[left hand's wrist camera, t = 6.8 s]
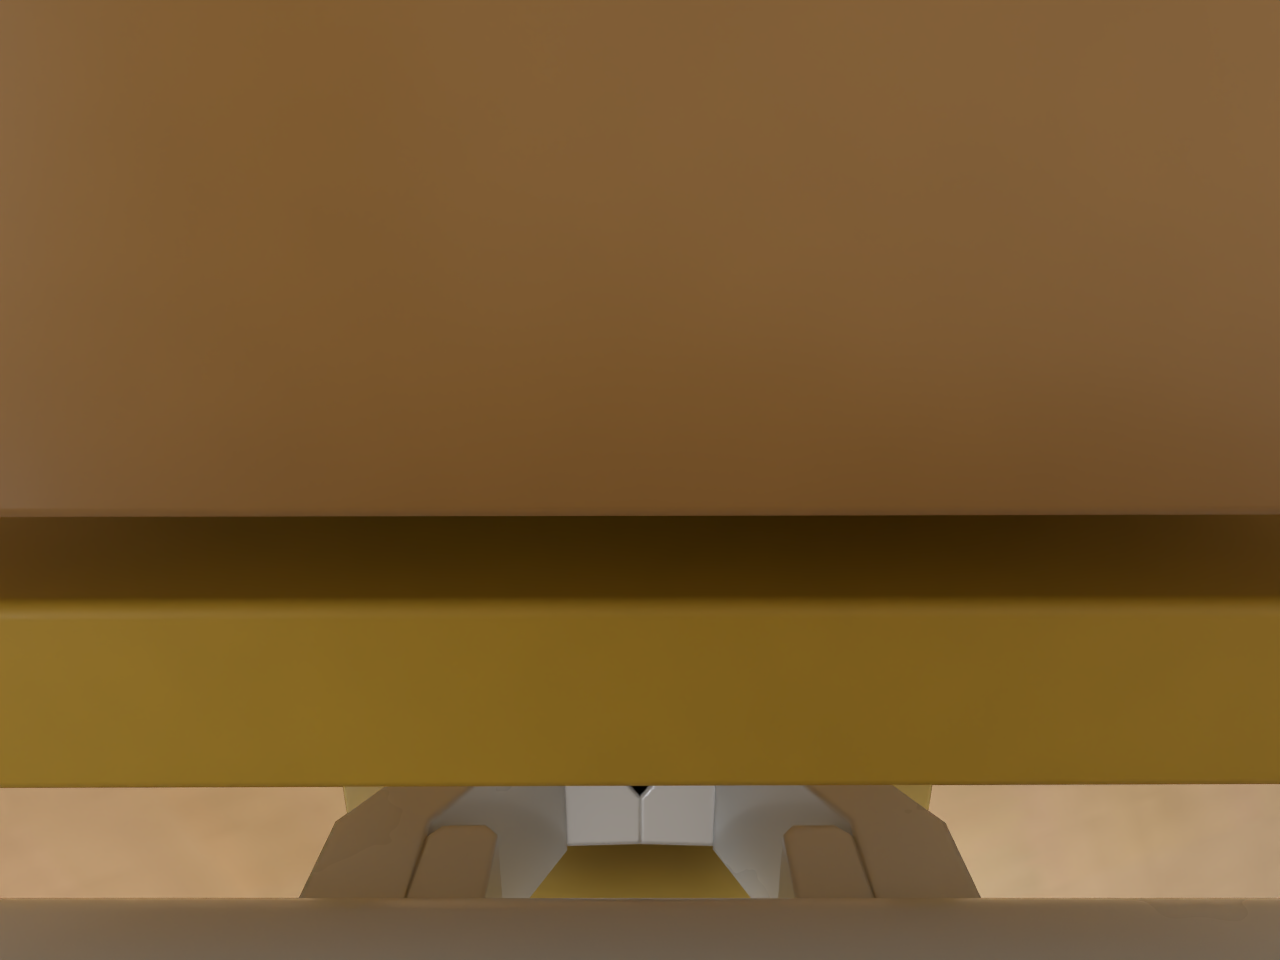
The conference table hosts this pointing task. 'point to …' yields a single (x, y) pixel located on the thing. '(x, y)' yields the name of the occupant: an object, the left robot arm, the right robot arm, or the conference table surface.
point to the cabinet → (639, 257)
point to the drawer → (639, 657)
